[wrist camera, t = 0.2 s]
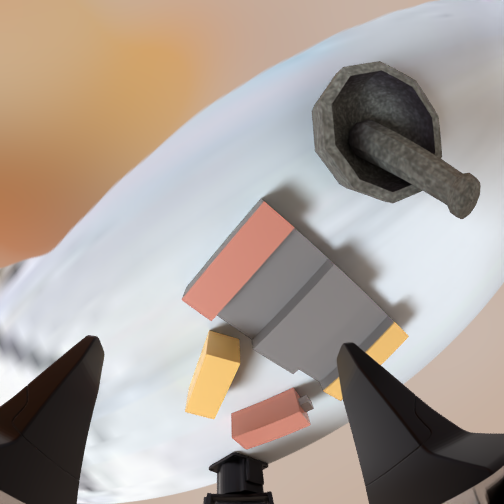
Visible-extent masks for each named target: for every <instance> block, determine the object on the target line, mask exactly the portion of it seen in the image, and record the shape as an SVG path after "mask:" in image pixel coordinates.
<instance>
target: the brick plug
mask: <svg viewBox="0 0 504 504" xmlns="http://www.w3.org/2000/svg"><path fill="white" fill-rule="evenodd" d="M312 409H314V408H313V405H312V402H311V401H310V400H309V398H308V397H307V395H305V396H303V397H300V396H299V395H298V393H297V392H296V391H295V389H294V388H291V389H289V390H287V391H285V392H282V393H280V394H278V395H276V396H273V397H271V398H269V399H267V400H264V401H262V402H259V403H257V404H255V405H252V406H250V407H247V408H245V409H242V410H239V411H237V412H234V413H232V414H231V421H232V438H233V439H234V440H235V441H236V442H237V443H239V444H240V445H241V446H242V447H243V448H245V449H249V448H252V447H255V446H258V445H261V444H264V443H267V442H270V441H272V440H275V439H278V438H280V437H283V436H285V435H288V434H290V433H293V432H295V431H298V430H300V429H302V428H305V427H307V426H309V425H311V424H310V421H309V418H308V414H307V411H310V410H312Z"/></svg>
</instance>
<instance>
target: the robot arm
mask: <svg viewBox="0 0 504 504" xmlns="http://www.w3.org/2000/svg"><path fill="white" fill-rule="evenodd" d="M103 361H104V350H103V348H102V345H101V343H100V340H99V338H98V337H97V336H91V335H88V336H86V337H85V338H84V339H82V340H81V341H80V342H79V343H77V344H76V345H75V346H74V347H72V348H71V349H70V350H69V351H67V352H66V353H65V354H64V355H63V356H61V357H60V358H59V359H58V360H57V361H55V362H54V363H53V364H52V365H51V366H49V367H48V368H47V369H46V370H45V371H43V372H42V373H41V374H40V375H39V376H37V377H36V378H35V379H34V380H33V381H32V382H30V383H29V384H28V386H26V387H24V388H23V389H22V390H21V391H20V392H19V393H17V394H16V395H15V396H14V397H13V398H11V399H10V400H9V401H7V402H6V403H5V404H3V405H2V406H0V504H77V495H78V488H79V480H80V473H81V467H82V461H83V456H84V450H85V445H86V440H87V436H88V431H89V427H90V422H91V418H92V414H93V410H94V406H95V402H96V398H97V394H98V390H99V384H100V378H101V372H102V366H103ZM337 368H338V374H339V380H340V386H341V392H342V398H343V402H344V405H345V409H346V412H347V416H348V419H349V423H350V427H351V430H352V434H353V438H354V442H355V446H356V450H357V454H358V458H359V462H360V465H361V469H362V474H363V478H364V482H365V486H366V492H367V496H368V500H369V504H504V434H485V433H470V432H467V431H465V430H463V429H461V428H459V427H458V426H456V425H455V424H454V423H452V422H451V421H449V420H448V419H446V418H445V417H443V416H442V415H440V414H439V413H437V412H436V411H434V410H433V409H432V408H431V407H429V406H428V405H427V404H426V403H424V402H423V401H422V400H421V399H420V398H418V397H417V396H415V394H414V393H412V392H411V391H410V390H409V389H408V388H407V387H405V386H404V385H403V384H402V383H401V382H400V381H398V380H397V379H396V378H395V377H394V376H393V375H391V374H390V373H389V372H388V371H387V370H386V369H384V368H383V367H382V366H381V365H380V364H379V363H377V362H376V361H375V360H374V359H373V358H371V357H370V356H369V355H368V354H367V353H366V352H364V351H363V350H362V349H361V348H360V347H359V346H357V345H356V344H355V343H353V342H347V343H343V344H342V346H341V348H340V351H339V353H338V356H337ZM267 467H268V464H267V463H265V462H261V461H258V460H255V459H253V458H250V457H247V456H244V455H241V454H239V453H232V454H230V455H229V456H227V457H225V458H224V459H222V460H220V461H218V462H217V463H215V464H213V465H211V466H210V467H209V470H210V471H213V472H216V473H217V494H211V493H207V497H204V504H274V503H273V497H272V493H271V492H267V493H264V492H263V484H264V479H263V471H262V470H263V469H265V468H267Z"/></svg>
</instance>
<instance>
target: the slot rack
mask: <svg viewBox="0 0 504 504" xmlns="http://www.w3.org/2000/svg"><path fill="white" fill-rule="evenodd" d="M182 300H183V301H184V302H185V303H187V304H188V305H189V306H191V307H192V308H194V309H195V310H196V311H198V312H199V313H200V314H202V315H203V316H205V317H206V318H208V319H209V320H210V321H212V320H213V319H214V318H215V317H216V315H217V316H219V317H220V318H221V319H223V320H224V321H226V322H227V323H229V324H230V325H231V326H233V327H234V328H236V329H237V330H239V331H240V332H242V333H243V334H245V335H246V336H248V337H249V338H251V339H252V344H253V349H254V350H255V351H257V352H258V353H260V354H261V355H263V356H265V357H266V358H268V359H269V360H271V361H273V362H274V363H276V364H277V365H279V366H281V367H282V368H284V369H286V370H287V371H289V372H291V373H292V374H294V373H295V372H296V371H298V370H301V371H302V372H304V373H306V374H307V375H309V376H311V377H312V378H314V379H316V380H317V381H319V382H320V384H321V386H322V389H323V391H324V392H325V393H327V394H329V395H331V396H333V397H335V398H336V399H338V400H340V401H341V400H342V399H343V398H342V392H341V386H340V380H339V374H338V368H337V356H338V353H339V351H340V348H341V346H342V344H343V343H347V342H353V343H355V344H356V345H357V346H359V347H360V348H361V349H362V350H363V351H364V352H366V353H367V354H368V355H369V356H370V357H371V358H373V359H374V360H375V361H376V362H377V363H379V364H380V365H381V364H382V363H383V362H384V361H386V360H387V359H388V358H389V357H390V356H391V355H392V353H393V352H394V351H395V350H396V349H397V348H398V347H399V346H400V345H401V344H402V343H403V342H404V341H405V340H406V339H407V338H408V337H409V336H408V335H407V334H406V333H405V332H404V331H403V330H402V329H401V328H400V327H399V326H398V325H397V324H396V323H395V322H394V321H393V320H392V319H391V318H390V317H389V316H388V315H387V314H386V313H385V312H384V311H383V310H382V309H381V308H380V307H379V306H378V305H377V304H376V303H375V302H374V301H373V300H372V299H371V298H370V297H369V296H368V295H367V294H366V293H365V292H364V291H363V290H362V289H361V288H360V287H359V286H357V285H356V284H355V283H354V282H353V281H352V280H351V279H350V278H349V277H348V276H347V275H346V274H345V273H344V272H343V271H342V270H341V269H339V268H338V267H337V266H336V265H335V264H334V263H333V262H332V261H331V260H330V259H329V258H328V257H326V256H325V255H324V254H323V253H322V252H321V251H320V250H319V249H318V248H317V247H315V246H314V245H313V244H312V243H311V242H310V241H309V240H308V239H307V238H305V237H304V236H303V235H302V234H301V233H300V232H299V231H298V230H296V229H295V228H294V227H293V226H292V225H291V224H290V223H289V222H287V221H286V220H285V219H284V218H283V217H282V216H281V215H279V214H278V213H277V212H276V211H275V210H274V209H273V208H271V207H270V206H269V205H268V204H267V203H266V202H264V201H263V200H262V199H260V200H259V201H258V203H257V204H256V205H255V206H254V207H253V208H252V209H251V211H250V212H249V213H248V214H247V215H246V216H245V218H244V219H243V220H242V221H241V222H240V224H239V225H238V226H237V227H236V228H235V229H234V231H233V232H232V233H231V234H230V235H229V237H228V238H227V239H226V240H225V241H224V243H223V244H222V245H221V246H220V247H219V248H218V250H217V251H216V252H215V253H214V255H213V256H212V257H211V258H210V259H209V261H208V262H207V263H206V264H205V265H204V267H203V268H202V269H201V270H200V271H199V273H198V274H197V275H196V276H195V278H194V279H193V280H192V281H191V282H190V284H189V285H188V286H187V287H186V290H185V292H184V295H183V298H182Z"/></svg>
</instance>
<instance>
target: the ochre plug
mask: <svg viewBox="0 0 504 504" xmlns="http://www.w3.org/2000/svg"><path fill="white" fill-rule="evenodd" d="M239 365H240V343H239V339H237V338H233V337H230V336H226V335H223V334H220V333H216V332H213V331H210V330H209V332H208V335H207V338H206V341H205V344H204V346H203V349H202V352H201V355H200V358H199V361H198V363H197V366H196V369H195V372H194V375H193V378H192V380H191V383H190V386H189V391H188V397H187V403H186V409H185V412H187V413H191V414H195V415H199V416H203V417H207V418H211V419H215V417H216V414H217V412H218V410H219V408H220V406H221V404H222V402H223V400H224V398H225V396H226V393H227V391H228V389H229V387H230V385H231V383H232V381H233V378H234V376H235V374H236V372H237V370H238V368H239Z"/></svg>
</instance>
